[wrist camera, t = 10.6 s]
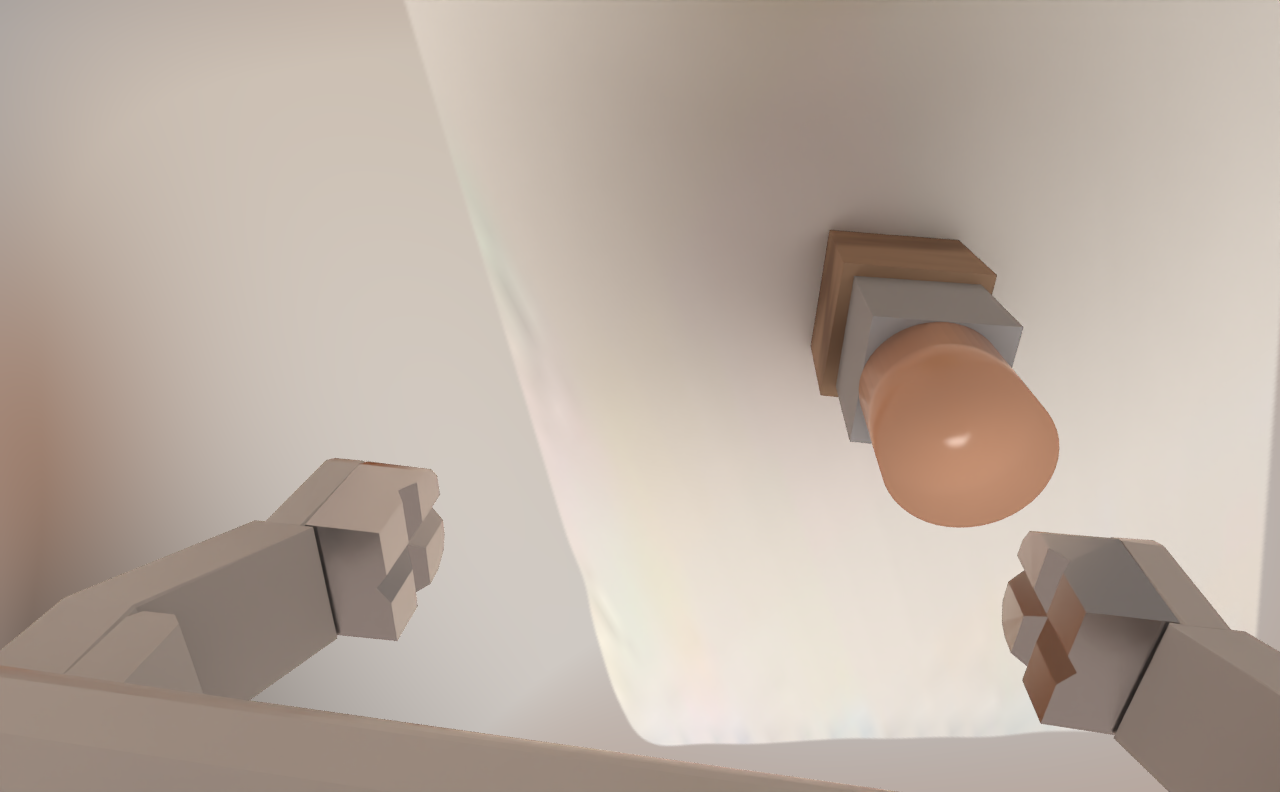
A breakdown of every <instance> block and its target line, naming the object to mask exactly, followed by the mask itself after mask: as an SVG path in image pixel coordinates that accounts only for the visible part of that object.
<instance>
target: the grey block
mask: <svg viewBox="0 0 1280 792" xmlns="http://www.w3.org/2000/svg"><path fill="white" fill-rule="evenodd" d="M929 322H949V323H956V324H960V325H963V326H966V327H969V328H971V329H973V330H975V331H977V332H979V333H980V334H982V335H983V336H984V337H985V338H987V339H988V340H989V341H990V342H991V343H992V344H993V346H994V347H995V348H996V349H997V350H998V352H999V353H1000V354H1001V355H1002V357H1003V358H1004V359H1005V360H1006V361H1007V363H1008V364H1009V365H1010V366H1011V368H1012V366H1013V362H1014V359H1015V355H1016V351H1017V348H1018V344H1019V341H1020V337H1021V334H1022V330H1023V326H1022V325H1021V324H1020V323H1019V322H1018V321H1017V320H1016V319H1015V318H1014V317H1013V316H1012V315H1011V314H1010V313H1009V312H1008V311H1007V310H1006V309H1005V308H1004V307H1003V306H1002V305H1001V304H1000V303H999V302H998V301H997V300H996V299H995V298H994V297H993V296H992V295H991V294H990V293H989V292H988V291H987V290H986V289H985V288H984V287H983V286H982V285H979V284H965V283H950V282H936V281H921V280H907V279H893V278H878V277H863V276H854V280H853V286H852V292H851V298H850V304H849V310H848V316H847V322H846V328H845V334H844V340H843V346H842V352H841V358H840V364H839V370H838V376H837V382H836V389H837V393H838V397H839V401H840V405H841V409H842V412H843V416H844V420H845V424H846V428H847V432H848V436H849V440H850V442H861V443H872V442H871V438H870V435H869V432H868V429H867V425H866V422H865V419H864V416H863V412H862V409H861V406H860V401H859V381H860V377H861V374H862V371H863V369H864V366H865V364H866V362H867V361H868V359H869V358H870V356H871V355H872V354H873V352H874V351H875V350H876V349H877V348H878V347H879V346H880V345H881V344H882V343H883V342H884V341H886V340H887V339H888V338H889V337H891V336H893V335H894V334H896V333H898V332H899V331H902V330H904V329H906V328H909V327H912V326H915V325H918V324H923V323H929Z"/></svg>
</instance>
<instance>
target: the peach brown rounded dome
mask: <svg viewBox="0 0 1280 792" xmlns="http://www.w3.org/2000/svg"><path fill="white" fill-rule="evenodd" d="M859 401H860V406H861V409H862V412H863V416H864V419H865V422H866V425H867V429H868V432H869V435H870V438H871V442H872V445H873V448H874V452H875V455H876V458H877V461H878V465H879V468H880V471H881V474H882V477H883V480H884V483H885V486H886V488H887V490H888V492H889V493H890V495H891V496H892V497H893V499H894V500H895V501H896V502H897V503H898V504H899V505H900V506H901V507H902V508H903V509H904V510H906V511H907V512H908V513H910V514H912V515H913V516H915V517H917V518H919V519H921V520H924V521H926V522H929V523H932V524H936V525H941V526H946V527H974V526H981V525H985V524H990V523H993V522H996V521H999V520H1002V519H1004V518H1006V517H1008V516H1011V515H1013V514H1014V513H1016V512H1018V511H1019V510H1021V509H1023V508H1024V507H1025V506H1027V505H1028V504H1029V503H1031V502H1032V501H1033V500H1034V499H1035V498H1036V497H1037V496H1038V495H1039V494H1040V493H1041V492H1042V490H1043V489H1044V488H1045V487H1046V485H1047V484H1048V482H1049V480H1050V479H1051V477H1052V475H1053V473H1054V470H1055V468H1056V464H1057V461H1058V455H1059V438H1058V434H1057V429H1056V427H1055V424H1054V422H1053V420H1052V418H1051V417H1050V415H1049V414H1048V412H1047V411H1046V410H1045V408H1044V407H1043V406H1042V405H1041V403H1040V402H1039V401H1038V400H1037V398H1036V397H1035V396H1034V395H1033V394H1032V392H1031V391H1030V390H1029V389H1028V387H1027V386H1026V385H1025V384H1024V382H1023V381H1022V380H1021V379H1020V378H1019V376H1018V375H1017V374H1016V373H1015V371H1014V370H1013V369H1012V368H1011V366H1010V365H1009V364H1008V363H1007V361H1006V360H1005V359H1004V358H1003V357H1002V355H1001V354H1000V353H999V352H998V350H997V349H996V348H995V347H994V346H993V344H992V343H991V342H990V341H989V340H988V339H987V338H985V337H984V336H983V335H982V334H980V333H979V332H977V331H975V330H973V329H971V328H969V327H966V326H963V325H960V324H956V323H949V322H929V323H923V324H918V325H915V326H912V327H909V328H906V329H904V330H902V331H899V332H898V333H896V334H894V335H893V336H891V337H889V338H888V339H887V340H886V341H884V342H883V343H882V344H881V345H880V346H879V347H878V348H877V349H876V350H875V351H874V352H873V354H872V355H871V356H870V358H869V359H868V361H867V362H866V364H865V366H864V369H863V371H862V374H861V377H860V381H859Z"/></svg>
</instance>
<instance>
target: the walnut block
mask: <svg viewBox="0 0 1280 792" xmlns="http://www.w3.org/2000/svg"><path fill="white" fill-rule="evenodd" d="M854 276H863V277H878V278H893V279H907V280H921V281H936V282H950V283H965V284H979V285H982V286H983V287H984V288H985V289H986V290H987V291H988V292H989V293H990V294H991V295H992V292H993V288H994V285H995V281H996V277H997V275H996V274H995V273H994V272H993V271H992V270H991V269H990V268H989V267H987V266H986V265H985V264H984V263H983V262H982V261H981V260H980V259H979V258H978V257H977V256H975V255H974V254H973V253H972V252H971V251H970V250H969V249H968V248H967V247H966V246H965V245H963V244H962V243H961V242H960V241H959V240H950V239H937V238H924V237H911V236H899V235H886V234H873V233H860V232H847V231H835V230H830V231H829V237H828V243H827V249H826V255H825V261H824V268H823V274H822V280H821V286H820V292H819V298H818V304H817V311H816V317H815V323H814V329H813V335H812V341H811V350H812V355H813V360H814V365H815V370H816V375H817V380H818V385H819V389H820V394H821V395H824V396H834V397H838V393H837V389H836V382H837V376H838V370H839V364H840V358H841V352H842V346H843V340H844V334H845V328H846V322H847V316H848V310H849V304H850V298H851V292H852V286H853V280H854Z"/></svg>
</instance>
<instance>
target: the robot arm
mask: <svg viewBox="0 0 1280 792" xmlns="http://www.w3.org/2000/svg"><path fill="white" fill-rule="evenodd" d="M439 495H440V491H439V486H438V479H437V475H436V474H435V473H434V472H433V471H432V470H431V469H425V468H417V467H409V466H401V465H392V464H384V463H376V462H364V461H360V460H350V459H339V458H334V459H329V460H326V461H325V462H324V463H323V464H322V465H321V466H320V467H319V468H318V469H317V470H316V471H315V472H314V473H313V474H312V475H311V476H310V477H309V478H308V479H307V480H306V481H305V482H304V483H303V484H302V485H301V486H300V487H299V488H298V489H297V490H296V491H295V492H294V493H293V494H292V495H291V496H290V497H289V498H288V499H287V500H286V501H285V502H284V503H283V504H282V506H280V507H279V508H278V509H277V511H275V513H273V514H272V516H270V518H269V519H267V521H252V522H250V523H248V524H245V525H242V526H240V527H237V528H235V529H232V530H230V531H228V532H225V533H223V534H220V535H218V536H215V537H213V538H210V539H208V540H205V541H203V542H201V543H198V544H195V545H193V546H190V547H188V548H186V549H183V550H181V551H178V552H176V553H173V554H171V555H168V556H166V557H163V558H161V559H158V560H156V561H153V562H151V563H149V564H146V565H144V566H141V567H139V568H136V569H134V570H131V571H129V572H126V573H124V574H121V575H119V576H116V577H114V578H111V579H109V580H107V581H104V582H101V583H99V584H97V585H94V586H92V587H89V588H87V589H84V590H82V591H79V592H77V593H74V594H72V595H69V596H67V597H65V598H63V599H62V600H61V601H59V602H58V603H57V604H56V605H55V606H54V607H52V608H51V609H50V610H49V611H47V612H46V613H45V614H44V615H43V616H41V617H40V618H39V619H38V620H37V621H35V622H34V623H33V624H32V625H31V626H29V627H28V628H27V629H26V630H24V631H23V632H22V633H21V634H20V635H18V636H17V637H16V638H15V639H14V640H12V641H11V642H10V643H9V644H8V645H6V646H5V647H4V648H3V649H2V650H0V792H898V791H891V790H884V789H877V788H870V787H863V786H856V785H849V784H841V783H834V782H828V781H821V780H814V779H806V778H800V777H792V776H785V775H778V774H771V773H764V772H757V771H749V770H742V769H735V768H728V767H720V766H714V765H707V764H699V763H692V762H685V761H678V760H671V759H664V758H656V757H649V756H642V755H634V754H627V753H620V752H613V751H606V750H599V749H591V748H584V747H578V746H570V745H563V744H556V743H549V742H542V741H535V740H527V739H520V738H513V737H506V736H499V735H492V734H485V733H478V732H471V731H463V730H456V729H449V728H442V727H434V726H428V725H420V724H413V723H406V722H399V721H392V720H385V719H378V718H371V717H364V716H357V715H349V714H342V713H335V712H328V711H321V710H314V709H307V708H300V707H292V706H285V705H278V704H271V703H263V702H256V701H250V699H252V698H253V697H255V696H256V695H257V694H259V693H260V692H262V691H263V690H264V689H266V688H267V687H269V686H270V685H271V684H273V683H274V682H276V681H277V680H279V679H280V678H282V677H283V676H284V675H286V674H287V673H289V672H290V671H291V670H293V669H294V668H296V667H297V666H299V665H300V664H301V663H303V662H304V661H306V660H307V659H308V658H310V657H311V656H312V655H314V654H315V653H317V652H318V651H320V650H321V649H323V648H324V647H325V646H327V645H328V644H330V643H331V642H333V641H334V640H335V639H337V635H343V636H353V637H364V638H373V639H384V640H394V641H397V640H398V639H399V637H400V635H401V634H402V632H403V630H404V629H405V627H406V625H407V623H408V622H409V620H410V618H411V617H412V615H413V613H414V611H415V610H416V608H417V606H418V605H417V597H416V592H417V591H419V590H420V589H422V588H424V587H425V586H427V585H429V584H430V583H431V582H432V580H433V578H434V576H435V574H436V572H437V571H438V568H439V565H440V561H441V558H442V554H443V550H444V526H443V520H442V518H441V517H440V516H439V515H438V514H437V513H436V511H435V510H434V509H433V508H432V506H433V505H434V503H435V502H436V500H437V499H438V497H439ZM1017 556H1018V558H1019V560H1020V562H1021V564H1022V566H1023V568H1024V571H1023V572H1021V573H1020V574H1018V575H1017V576H1016V577H1014V578H1013V579H1011V580H1010V581H1009V582H1008V584H1007V588H1006V591H1005V595H1004V598H1003V602H1002V625H1003V630H1004V635H1005V639H1006V642H1007V644H1008V647H1009V649H1010V652H1011V653H1012V654H1013V655H1014V656H1015V657H1017V658H1018V659H1019V660H1020V661H1021V662H1023V663H1024V664H1025V665H1026V666H1027V669H1026V671H1025V674H1024V677H1023V680H1022V681H1023V683H1024V685H1025V688H1026V690H1027V692H1028V695H1029V697H1030V700H1031V702H1032V704H1033V707H1034V709H1035V711H1036V714H1037V716H1038V718H1039V721H1040V723H1041V724H1047V725H1053V726H1060V727H1066V728H1073V729H1079V730H1086V731H1092V732H1099V733H1105V734H1112V735H1115V736H1114V739H1115V740H1116V741H1117V742H1118V743H1119V744H1120V745H1121V746H1122V747H1123V748H1124V749H1125V750H1126V751H1128V753H1130V754H1131V755H1132V756H1133V757H1134V758H1135V759H1136V760H1137V761H1138V762H1139V763H1140V764H1141V765H1142V766H1143V767H1144V768H1145V769H1146V770H1147V771H1148V772H1149V773H1150V774H1151V775H1152V776H1153V777H1154V778H1155V779H1157V781H1158V782H1159V783H1160V784H1161V785H1162V786H1163V787H1165V789H1167V790H1168V791H1169V792H1280V652H1279V651H1277V650H1275V649H1274V648H1272V647H1271V646H1269V645H1267V644H1265V643H1264V642H1262V641H1260V640H1258V639H1257V638H1255V637H1254V636H1252V635H1250V634H1248V633H1247V632H1244V631H1236V630H1231V629H1230V628H1229V627H1228V625H1227V624H1226V623H1225V622H1224V620H1223V619H1222V618H1221V617H1220V615H1219V614H1218V613H1217V612H1216V610H1215V609H1214V608H1213V607H1212V605H1211V604H1210V603H1209V602H1208V600H1207V599H1206V598H1205V597H1204V595H1203V594H1202V593H1201V592H1200V590H1199V589H1198V588H1197V587H1196V585H1195V584H1194V583H1193V582H1192V581H1191V579H1190V578H1189V577H1188V576H1187V574H1186V573H1185V572H1184V571H1183V569H1182V568H1181V567H1180V566H1179V564H1178V563H1177V562H1176V561H1175V559H1174V558H1173V557H1172V556H1171V554H1170V553H1169V552H1168V551H1167V549H1166V548H1165V547H1164V546H1163V545H1161V544H1159V543H1157V542H1155V541H1153V540H1142V539H1128V538H1114V537H1111V538H1104V537H1093V536H1081V535H1070V534H1058V533H1047V532H1036V531H1029V533H1028V534H1027V535H1026V536H1025V538H1024V539H1023V540H1022V543H1021V546H1020V549H1019V552H1018V555H1017Z"/></svg>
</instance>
